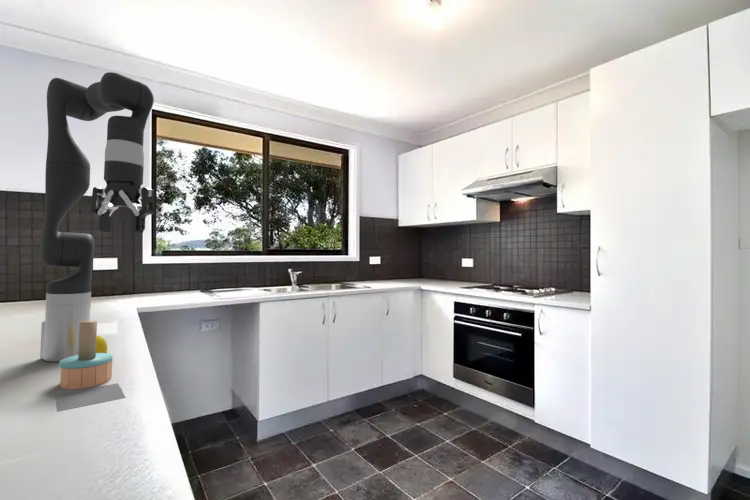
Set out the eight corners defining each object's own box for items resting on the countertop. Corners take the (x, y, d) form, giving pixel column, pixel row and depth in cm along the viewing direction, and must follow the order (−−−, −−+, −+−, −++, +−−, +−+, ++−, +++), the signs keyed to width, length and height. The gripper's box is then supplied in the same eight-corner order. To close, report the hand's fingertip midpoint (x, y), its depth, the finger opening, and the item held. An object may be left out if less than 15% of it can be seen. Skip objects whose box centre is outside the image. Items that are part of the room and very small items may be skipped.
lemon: (91, 371, 86) (92, 337, 86) (72, 369, 87) (73, 335, 87) (112, 364, 91) (113, 332, 91) (94, 362, 92) (95, 331, 93)
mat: (55, 396, 71) (55, 394, 71) (117, 385, 77) (117, 383, 77) (57, 413, 63) (57, 411, 63) (125, 399, 70) (125, 397, 70)
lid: (58, 363, 78) (60, 320, 79) (109, 356, 85) (111, 316, 85) (59, 374, 72) (61, 327, 72) (114, 366, 78) (116, 322, 78)
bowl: (59, 381, 78) (60, 360, 79) (108, 373, 84) (109, 354, 84) (60, 393, 72) (61, 370, 72) (113, 384, 78) (114, 363, 78)
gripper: (163, 167, 87) (161, 234, 87) (111, 167, 89) (108, 233, 89) (139, 158, 80) (136, 232, 79) (82, 159, 81) (79, 230, 81)
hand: (121, 232), depth 84 cm, fingers open, 8 cm apart
